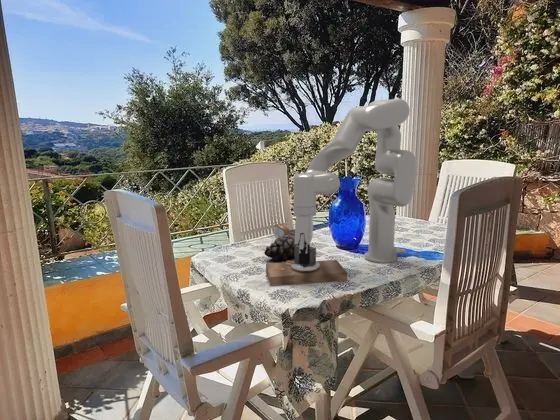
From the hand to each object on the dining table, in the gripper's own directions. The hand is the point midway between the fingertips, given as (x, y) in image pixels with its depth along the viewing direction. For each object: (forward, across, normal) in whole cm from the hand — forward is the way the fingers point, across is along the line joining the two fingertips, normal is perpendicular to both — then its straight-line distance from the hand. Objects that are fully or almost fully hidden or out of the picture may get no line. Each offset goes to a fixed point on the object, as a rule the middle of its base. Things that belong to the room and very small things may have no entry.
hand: (304, 261), depth 140 cm
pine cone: (+6, -18, -10) cm, 21 cm away
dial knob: (+2, 0, -1) cm, 2 cm away
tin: (+6, -37, -16) cm, 40 cm away
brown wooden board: (+5, 0, 0) cm, 5 cm away
